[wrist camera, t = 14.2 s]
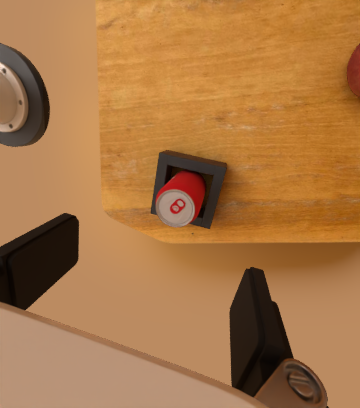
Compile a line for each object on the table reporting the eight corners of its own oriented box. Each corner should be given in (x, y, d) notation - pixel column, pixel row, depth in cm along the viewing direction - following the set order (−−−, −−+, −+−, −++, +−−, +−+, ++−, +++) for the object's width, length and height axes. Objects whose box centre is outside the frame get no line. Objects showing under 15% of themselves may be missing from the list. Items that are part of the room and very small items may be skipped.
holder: (158, 204, 40) (150, 213, 36) (166, 149, 36) (159, 152, 32) (211, 218, 39) (209, 229, 34) (226, 163, 35) (226, 167, 31)
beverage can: (166, 185, 38) (142, 208, 27) (188, 160, 36) (172, 175, 25) (190, 208, 39) (176, 239, 28) (214, 185, 36) (209, 210, 25)
